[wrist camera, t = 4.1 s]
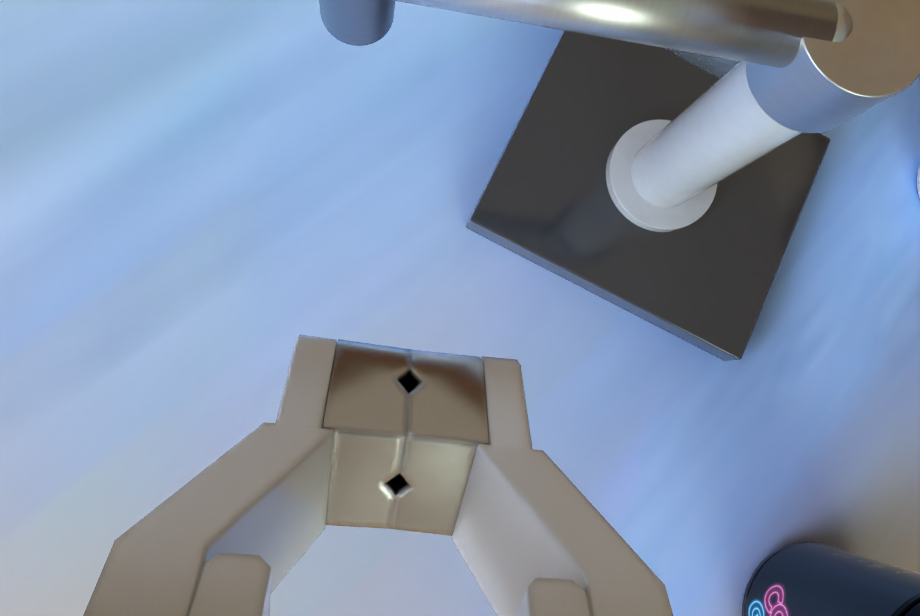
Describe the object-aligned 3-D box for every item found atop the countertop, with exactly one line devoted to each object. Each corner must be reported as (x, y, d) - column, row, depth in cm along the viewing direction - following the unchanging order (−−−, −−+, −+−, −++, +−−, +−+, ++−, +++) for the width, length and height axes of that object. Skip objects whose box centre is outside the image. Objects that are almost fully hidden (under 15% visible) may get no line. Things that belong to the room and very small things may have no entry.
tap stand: (464, 227, 33) (524, 132, 21) (569, 17, 35) (679, -178, 23) (724, 361, 34) (922, 343, 22) (812, 149, 36) (1036, 28, 24)
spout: (843, 39, 24) (938, -31, 20) (839, 153, 23) (936, 104, 20) (329, -55, 22) (323, -154, 18) (311, 68, 21) (301, -6, 17)
